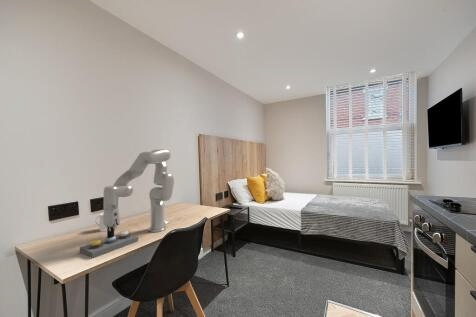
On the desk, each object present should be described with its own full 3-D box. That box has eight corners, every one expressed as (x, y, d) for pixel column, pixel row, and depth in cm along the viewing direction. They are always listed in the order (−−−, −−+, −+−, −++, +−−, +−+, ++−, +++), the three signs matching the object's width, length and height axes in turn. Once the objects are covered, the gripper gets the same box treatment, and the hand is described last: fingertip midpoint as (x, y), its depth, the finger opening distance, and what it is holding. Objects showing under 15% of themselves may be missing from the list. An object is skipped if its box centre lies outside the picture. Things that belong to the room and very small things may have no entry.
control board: (125, 237, 135) (125, 232, 135) (138, 241, 128) (138, 236, 128) (79, 252, 112) (79, 246, 112) (92, 258, 105) (92, 252, 105)
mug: (91, 231, 146) (92, 215, 146) (100, 227, 155) (100, 212, 155) (107, 231, 146) (107, 215, 146) (115, 227, 154) (115, 212, 154)
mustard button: (98, 241, 117) (98, 238, 117) (103, 243, 114) (103, 239, 114) (88, 244, 112) (88, 241, 112) (93, 246, 110) (93, 242, 110)
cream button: (125, 232, 130) (125, 229, 130) (130, 234, 128) (130, 231, 128) (117, 235, 126) (117, 232, 126) (122, 236, 124) (122, 233, 124)
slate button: (112, 238, 123) (112, 235, 124) (117, 239, 121) (117, 236, 121) (104, 241, 119) (104, 237, 119) (108, 242, 117) (108, 239, 117)
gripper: (124, 206, 120) (124, 237, 120) (110, 204, 127) (110, 233, 127) (111, 209, 113) (111, 242, 113) (97, 206, 121) (97, 237, 120)
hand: (110, 237), depth 120 cm, fingers closed
